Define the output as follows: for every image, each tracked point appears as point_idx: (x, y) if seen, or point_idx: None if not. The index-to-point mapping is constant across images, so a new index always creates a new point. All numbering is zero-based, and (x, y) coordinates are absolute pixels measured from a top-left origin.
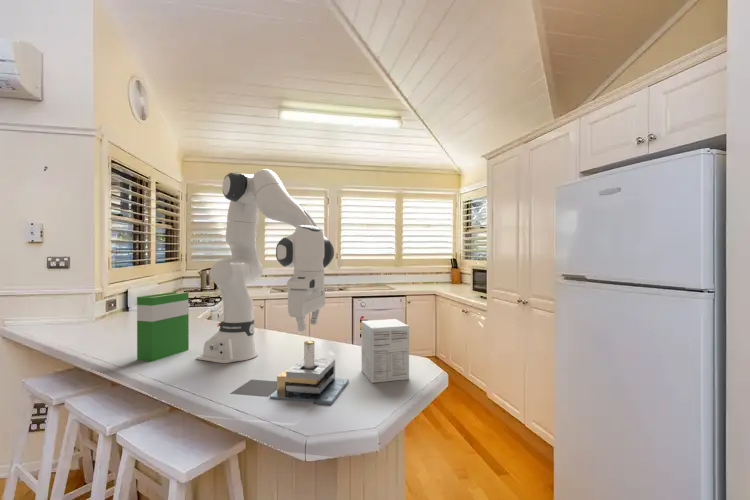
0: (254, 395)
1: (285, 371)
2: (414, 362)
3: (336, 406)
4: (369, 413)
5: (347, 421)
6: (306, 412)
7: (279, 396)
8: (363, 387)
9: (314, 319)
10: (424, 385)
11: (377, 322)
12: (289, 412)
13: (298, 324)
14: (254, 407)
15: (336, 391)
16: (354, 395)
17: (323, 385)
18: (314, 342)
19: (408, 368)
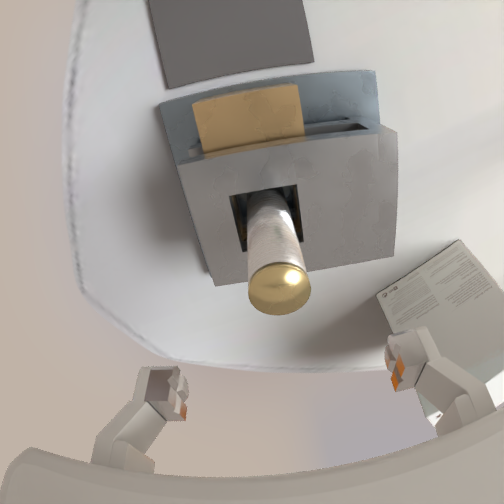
0: (158, 43)
1: (258, 99)
2: None
3: (210, 284)
4: (212, 341)
5: (162, 324)
6: (147, 243)
7: (170, 133)
8: (346, 289)
9: (396, 382)
10: (373, 365)
11: (499, 388)
12: (125, 208)
13: (130, 405)
14: (101, 105)
15: None
16: None
17: None
18: (292, 308)
19: None
